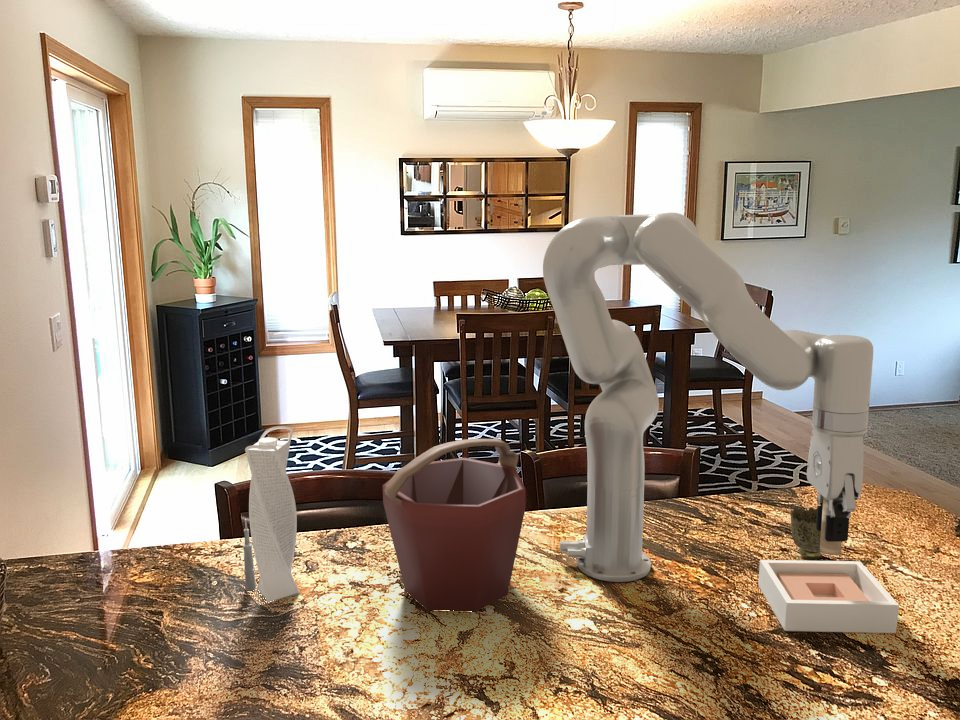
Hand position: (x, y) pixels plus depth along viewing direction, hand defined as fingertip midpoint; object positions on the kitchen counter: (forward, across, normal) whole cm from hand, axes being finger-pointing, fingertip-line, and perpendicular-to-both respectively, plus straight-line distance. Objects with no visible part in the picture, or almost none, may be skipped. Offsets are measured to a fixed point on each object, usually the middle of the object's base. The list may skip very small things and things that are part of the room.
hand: (831, 534), depth 123 cm
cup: (+12, -18, +4) cm, 22 cm away
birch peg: (+3, 0, 0) cm, 3 cm away
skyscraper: (+12, -2, -87) cm, 88 cm away
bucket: (+12, -4, -57) cm, 59 cm away
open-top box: (+12, 0, 0) cm, 12 cm away
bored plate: (+12, 0, 0) cm, 12 cm away
